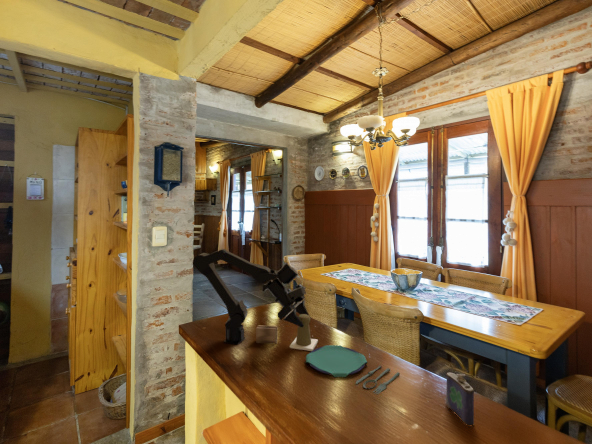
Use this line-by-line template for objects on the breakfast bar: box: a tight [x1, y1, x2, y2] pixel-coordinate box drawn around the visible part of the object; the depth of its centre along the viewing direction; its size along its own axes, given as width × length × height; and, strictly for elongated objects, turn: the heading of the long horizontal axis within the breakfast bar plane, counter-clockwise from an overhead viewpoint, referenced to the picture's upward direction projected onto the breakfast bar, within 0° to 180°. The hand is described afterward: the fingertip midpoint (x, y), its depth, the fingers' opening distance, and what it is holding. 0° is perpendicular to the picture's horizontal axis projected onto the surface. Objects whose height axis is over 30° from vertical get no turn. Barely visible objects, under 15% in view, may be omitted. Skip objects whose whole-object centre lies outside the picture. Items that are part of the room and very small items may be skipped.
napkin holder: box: [255, 324, 278, 345], centre depth 124 cm, size 8×3×6 cm, turn 83°
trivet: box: [289, 336, 319, 352], centre depth 122 cm, size 9×9×1 cm
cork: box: [296, 314, 312, 346], centre depth 122 cm, size 6×6×11 cm
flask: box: [445, 372, 475, 426], centre depth 80 cm, size 9×3×11 cm, turn 8°
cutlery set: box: [305, 344, 400, 395], centre depth 104 cm, size 20×30×2 cm, turn 45°
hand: (306, 322), depth 121 cm, fingers open, 9 cm apart
